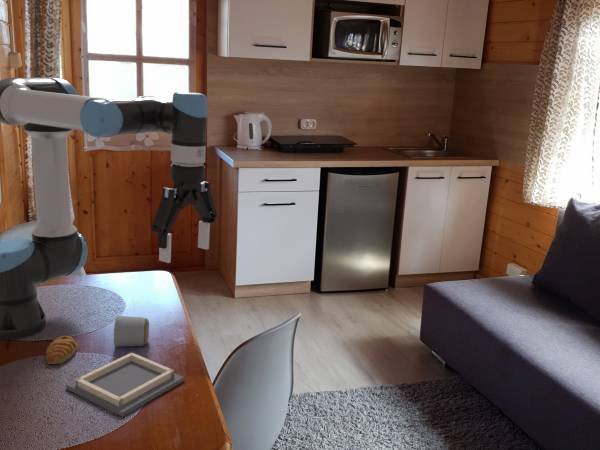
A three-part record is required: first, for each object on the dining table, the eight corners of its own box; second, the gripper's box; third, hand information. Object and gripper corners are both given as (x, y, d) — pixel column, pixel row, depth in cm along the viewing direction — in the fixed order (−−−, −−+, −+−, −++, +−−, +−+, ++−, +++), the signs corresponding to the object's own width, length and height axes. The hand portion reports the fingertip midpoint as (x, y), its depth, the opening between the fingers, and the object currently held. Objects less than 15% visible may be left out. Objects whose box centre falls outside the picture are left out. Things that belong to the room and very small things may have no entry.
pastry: (68, 366, 142) (67, 352, 141) (39, 366, 141) (38, 352, 140) (79, 348, 151) (78, 334, 150) (51, 348, 150) (50, 334, 149)
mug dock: (66, 388, 132) (65, 378, 132) (129, 357, 147) (129, 348, 146) (122, 416, 123) (121, 406, 122) (183, 380, 138) (183, 371, 137)
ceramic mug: (147, 350, 151) (146, 322, 149) (113, 351, 150) (112, 323, 148) (150, 333, 161) (150, 306, 159) (119, 333, 160) (118, 306, 158)
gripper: (162, 172, 121) (160, 271, 126) (234, 161, 142) (229, 246, 148) (135, 166, 125) (133, 263, 130) (209, 156, 146) (205, 240, 151)
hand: (184, 254), depth 139 cm, fingers open, 13 cm apart
